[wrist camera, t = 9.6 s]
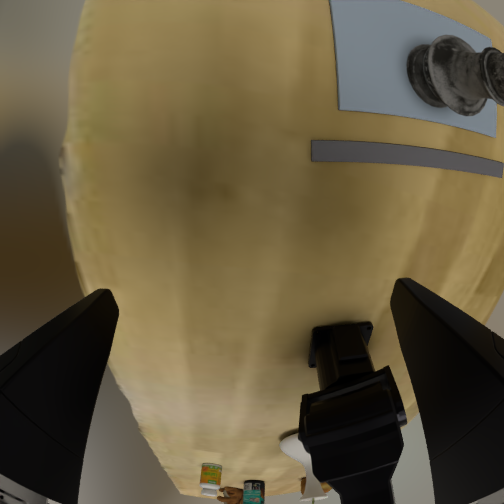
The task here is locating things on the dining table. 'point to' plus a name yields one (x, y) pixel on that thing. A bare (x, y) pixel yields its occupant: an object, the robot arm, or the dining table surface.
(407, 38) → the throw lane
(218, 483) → the supplement bottle
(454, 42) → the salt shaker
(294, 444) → the flower in vase
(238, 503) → the stuffed squirrel
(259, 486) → the beverage can
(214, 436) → the dining table surface
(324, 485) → the bread roll
